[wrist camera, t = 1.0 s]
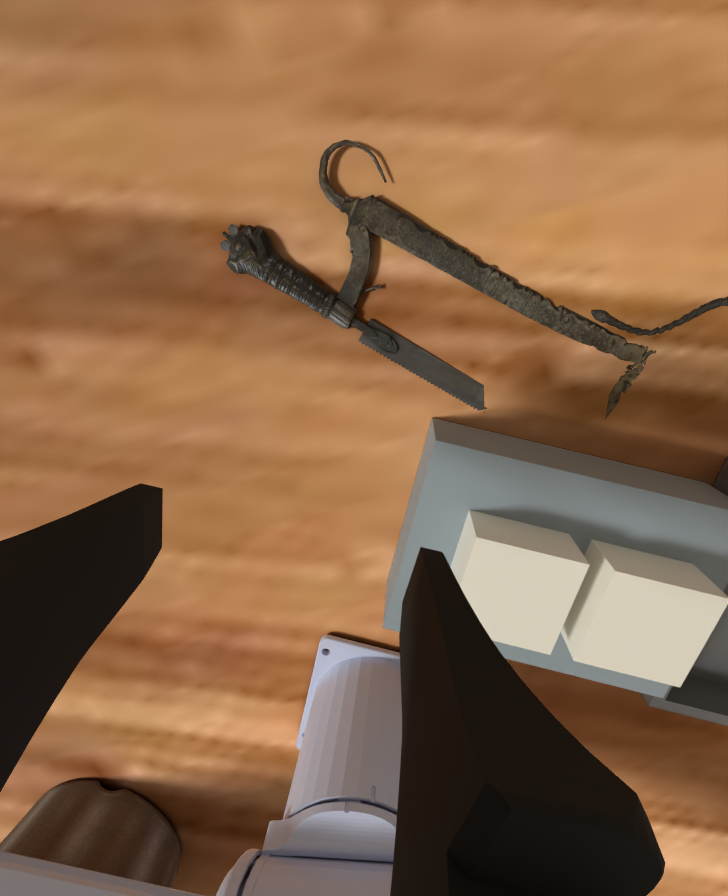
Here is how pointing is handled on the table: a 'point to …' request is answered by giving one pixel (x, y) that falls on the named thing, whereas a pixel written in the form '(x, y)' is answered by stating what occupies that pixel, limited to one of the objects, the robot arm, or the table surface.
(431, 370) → the hacksaw
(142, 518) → the robot arm
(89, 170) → the table surface
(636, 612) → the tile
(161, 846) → the plant pot
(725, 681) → the box
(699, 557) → the gray rectangular block
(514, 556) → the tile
